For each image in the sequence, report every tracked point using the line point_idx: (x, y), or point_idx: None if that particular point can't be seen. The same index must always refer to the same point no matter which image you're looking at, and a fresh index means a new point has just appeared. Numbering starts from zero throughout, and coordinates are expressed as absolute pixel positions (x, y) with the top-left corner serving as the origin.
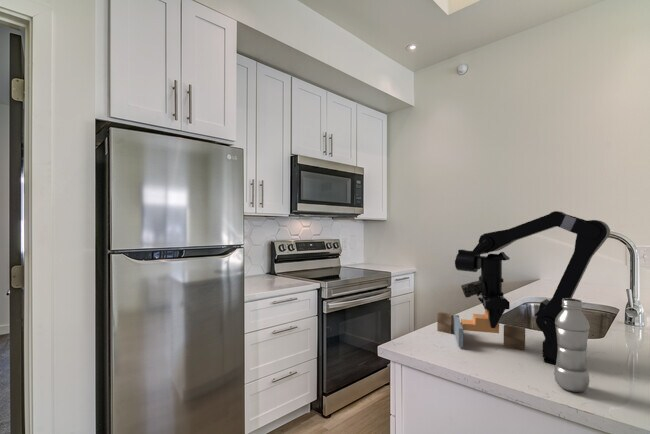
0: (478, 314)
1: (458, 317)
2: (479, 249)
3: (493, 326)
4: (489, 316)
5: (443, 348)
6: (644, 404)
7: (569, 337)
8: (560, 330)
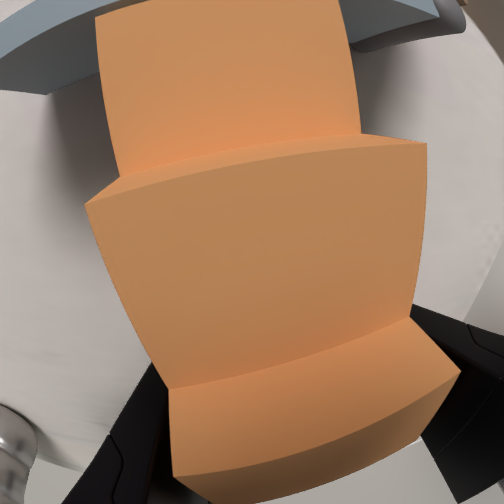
0: (403, 237)
1: (414, 5)
2: None
3: None
4: (102, 447)
5: None
6: (58, 465)
7: None
8: None
